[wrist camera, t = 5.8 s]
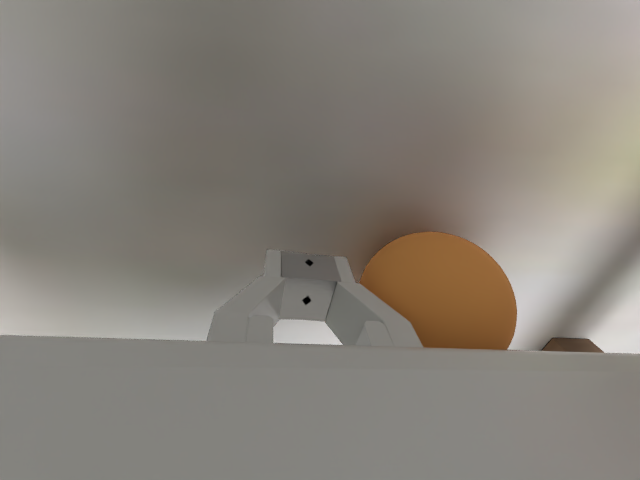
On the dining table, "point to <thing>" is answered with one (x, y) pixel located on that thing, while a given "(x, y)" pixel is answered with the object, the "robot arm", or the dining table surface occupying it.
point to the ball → (445, 291)
